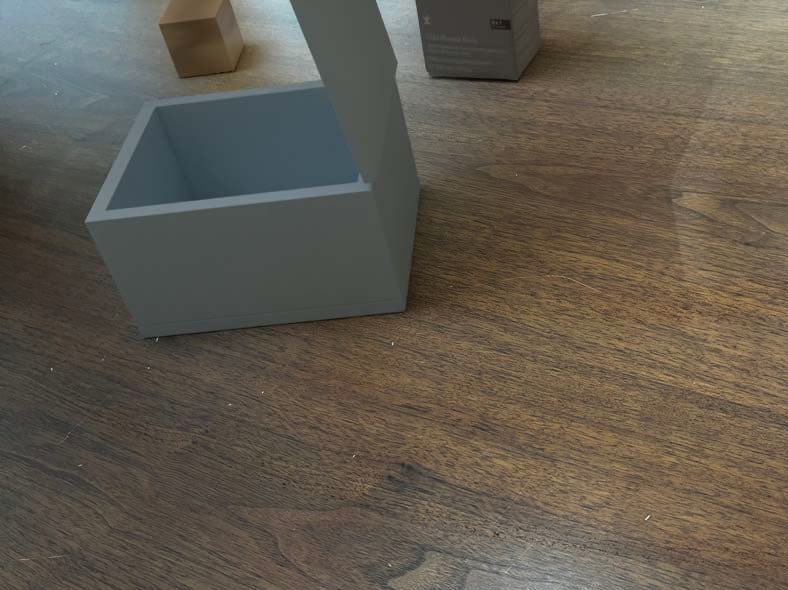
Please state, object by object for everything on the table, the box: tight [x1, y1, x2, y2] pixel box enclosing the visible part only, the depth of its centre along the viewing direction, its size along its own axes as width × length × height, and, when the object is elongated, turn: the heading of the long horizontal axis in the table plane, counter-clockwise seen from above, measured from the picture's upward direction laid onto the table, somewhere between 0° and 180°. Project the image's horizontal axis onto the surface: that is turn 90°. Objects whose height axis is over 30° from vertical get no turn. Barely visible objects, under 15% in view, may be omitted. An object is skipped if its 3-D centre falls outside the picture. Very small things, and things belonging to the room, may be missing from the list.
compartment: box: [84, 78, 422, 339], centre depth 70 cm, size 17×14×9 cm
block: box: [158, 0, 245, 79], centre depth 95 cm, size 5×5×5 cm
